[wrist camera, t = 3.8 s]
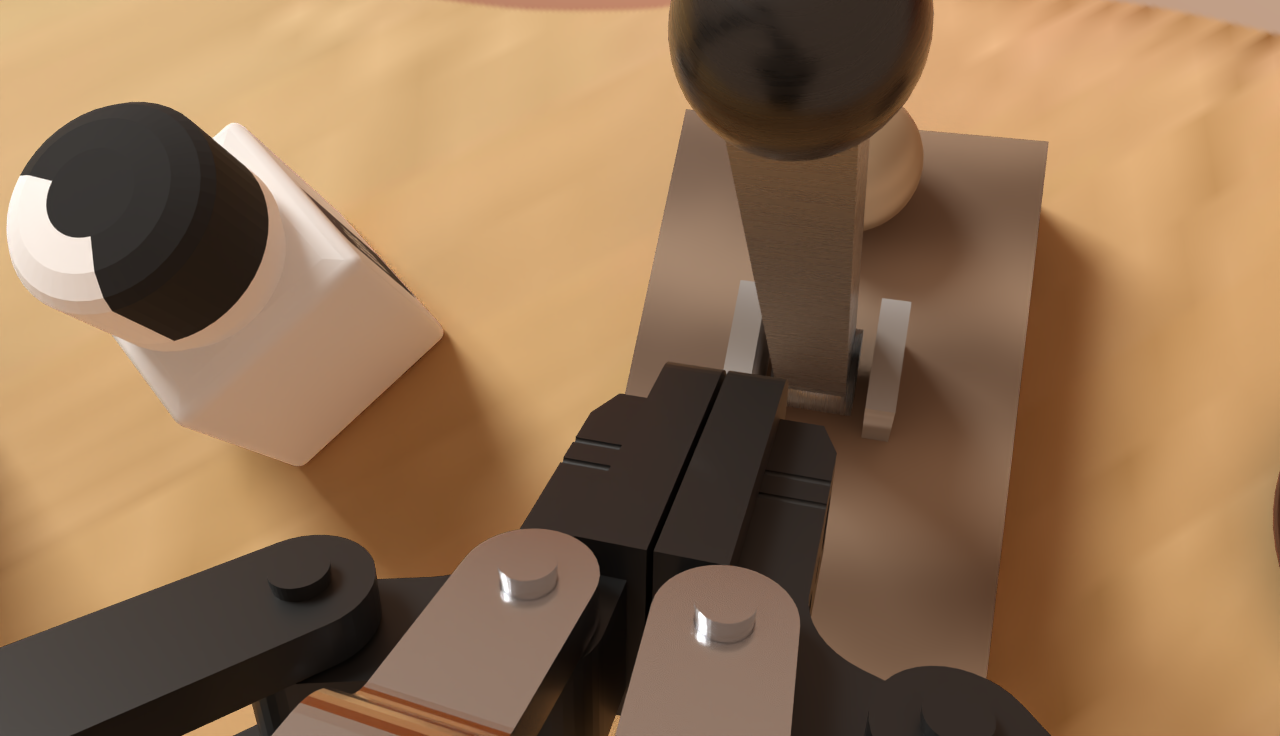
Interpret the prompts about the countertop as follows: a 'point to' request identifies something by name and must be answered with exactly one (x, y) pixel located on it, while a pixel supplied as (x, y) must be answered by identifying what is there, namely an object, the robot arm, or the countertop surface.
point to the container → (214, 276)
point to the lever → (802, 156)
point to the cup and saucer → (1277, 519)
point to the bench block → (885, 375)
